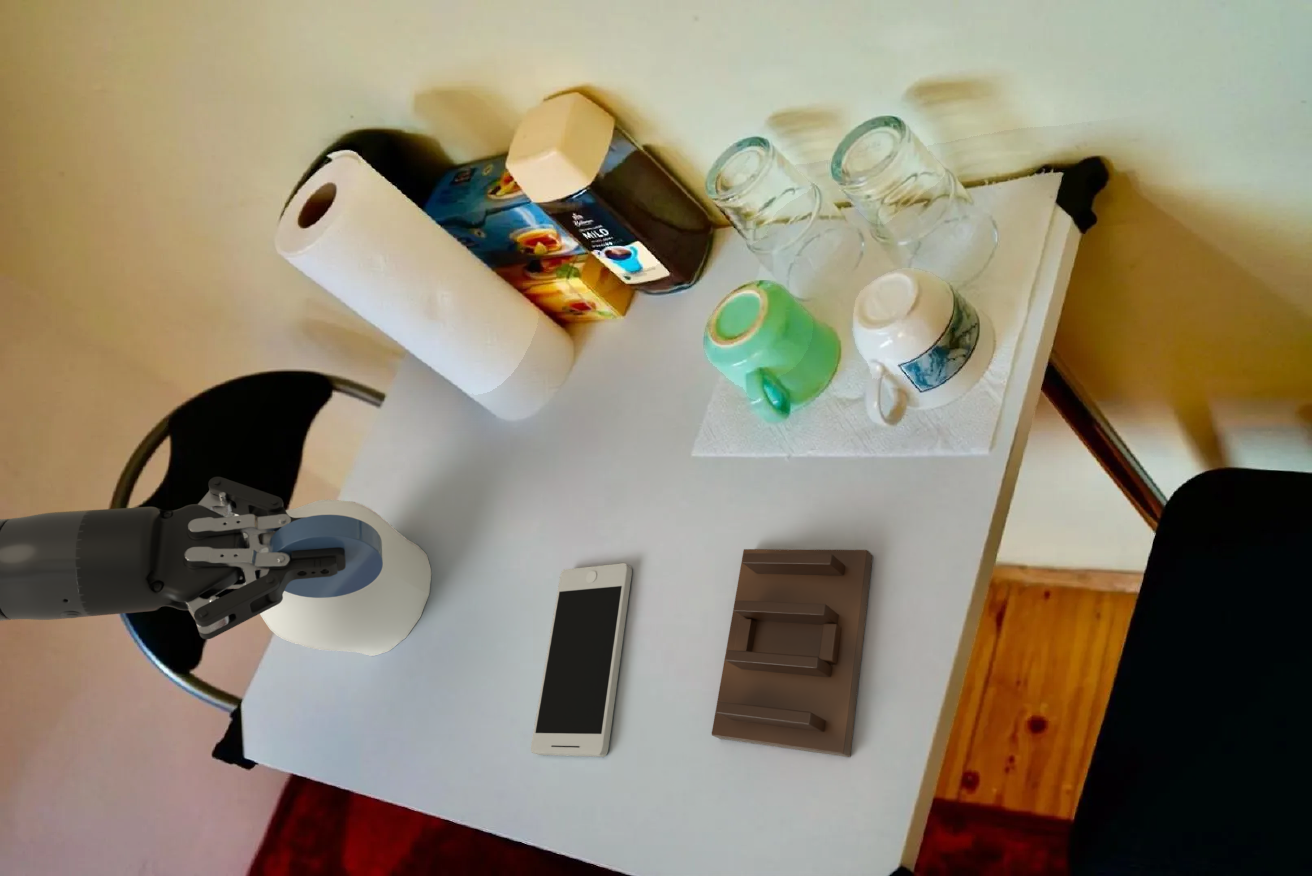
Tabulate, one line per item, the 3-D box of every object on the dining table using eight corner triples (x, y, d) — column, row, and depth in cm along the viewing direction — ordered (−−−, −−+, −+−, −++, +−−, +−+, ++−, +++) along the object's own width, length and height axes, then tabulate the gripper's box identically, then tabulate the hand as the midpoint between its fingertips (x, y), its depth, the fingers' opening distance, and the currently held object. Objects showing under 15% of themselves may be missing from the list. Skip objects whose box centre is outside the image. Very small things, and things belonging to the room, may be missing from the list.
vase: (453, 525, 90) (290, 438, 76) (419, 666, 84) (233, 599, 70) (360, 538, 98) (195, 461, 84) (322, 669, 92) (136, 609, 77)
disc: (405, 561, 71) (320, 521, 65) (330, 609, 73) (241, 575, 67) (404, 541, 72) (320, 500, 66) (330, 588, 74) (243, 553, 68)
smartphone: (633, 565, 75) (626, 562, 75) (607, 757, 68) (600, 754, 68) (566, 572, 79) (560, 569, 78) (536, 755, 72) (528, 753, 71)
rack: (850, 757, 59) (828, 746, 56) (719, 738, 64) (693, 728, 62) (873, 555, 64) (854, 537, 62) (750, 554, 70) (728, 537, 67)
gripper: (53, 620, 57) (343, 594, 62) (89, 455, 65) (341, 445, 71) (84, 676, 62) (348, 648, 67) (114, 517, 71) (346, 503, 76)
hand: (343, 544), depth 69 cm, fingers closed on disc, 2 cm apart
